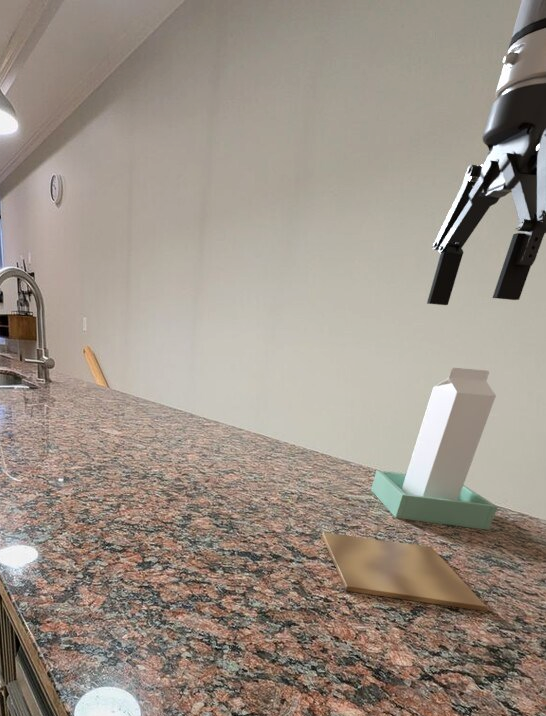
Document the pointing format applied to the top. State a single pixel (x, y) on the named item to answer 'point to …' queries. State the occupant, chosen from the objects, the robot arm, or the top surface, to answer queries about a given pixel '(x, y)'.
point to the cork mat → (398, 571)
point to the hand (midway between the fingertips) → (467, 302)
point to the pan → (432, 504)
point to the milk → (449, 435)
